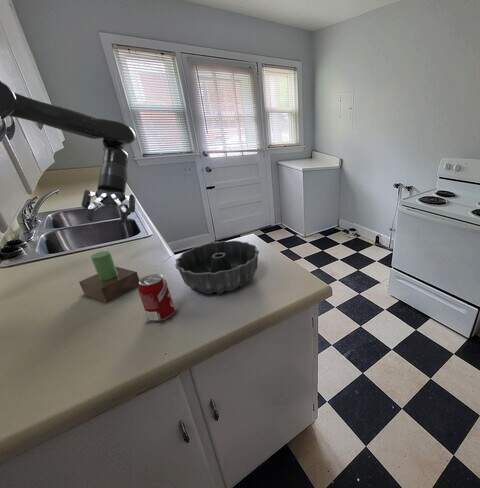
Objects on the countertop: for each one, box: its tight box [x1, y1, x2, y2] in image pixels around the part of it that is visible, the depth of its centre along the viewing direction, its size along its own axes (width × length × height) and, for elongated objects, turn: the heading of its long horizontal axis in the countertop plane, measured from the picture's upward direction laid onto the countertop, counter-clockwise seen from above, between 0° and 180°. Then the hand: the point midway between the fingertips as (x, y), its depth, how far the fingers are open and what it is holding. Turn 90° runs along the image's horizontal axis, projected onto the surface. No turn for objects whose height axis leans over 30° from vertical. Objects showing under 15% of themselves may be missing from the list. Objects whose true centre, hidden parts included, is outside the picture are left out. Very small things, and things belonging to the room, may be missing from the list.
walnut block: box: [78, 266, 140, 303], centre depth 89 cm, size 11×11×5 cm
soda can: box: [137, 273, 175, 322], centre depth 75 cm, size 7×7×12 cm
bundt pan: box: [174, 240, 260, 295], centre depth 93 cm, size 26×26×10 cm
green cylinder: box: [90, 250, 118, 280], centre depth 86 cm, size 5×5×8 cm
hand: (107, 222), depth 91 cm, fingers open, 8 cm apart
